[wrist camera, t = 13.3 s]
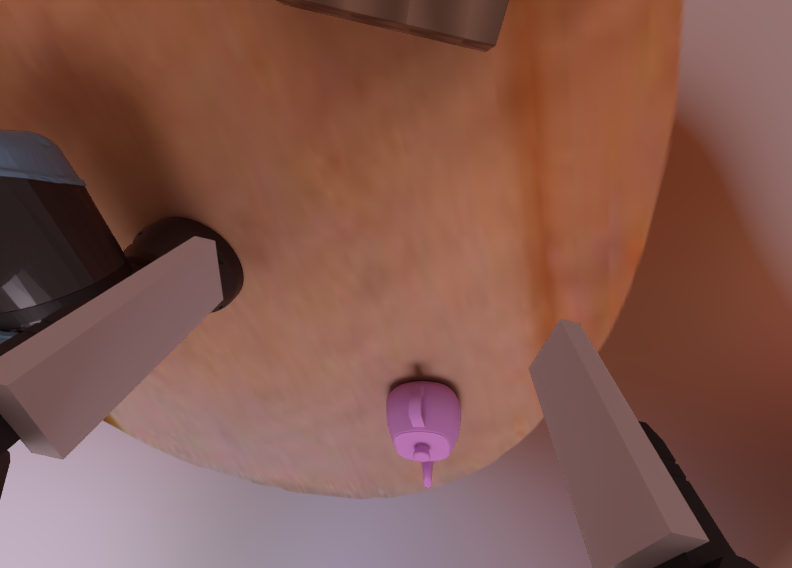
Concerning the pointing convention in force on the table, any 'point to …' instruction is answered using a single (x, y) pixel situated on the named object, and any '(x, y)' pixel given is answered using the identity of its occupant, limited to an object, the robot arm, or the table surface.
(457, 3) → the block
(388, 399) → the teapot
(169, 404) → the table surface
